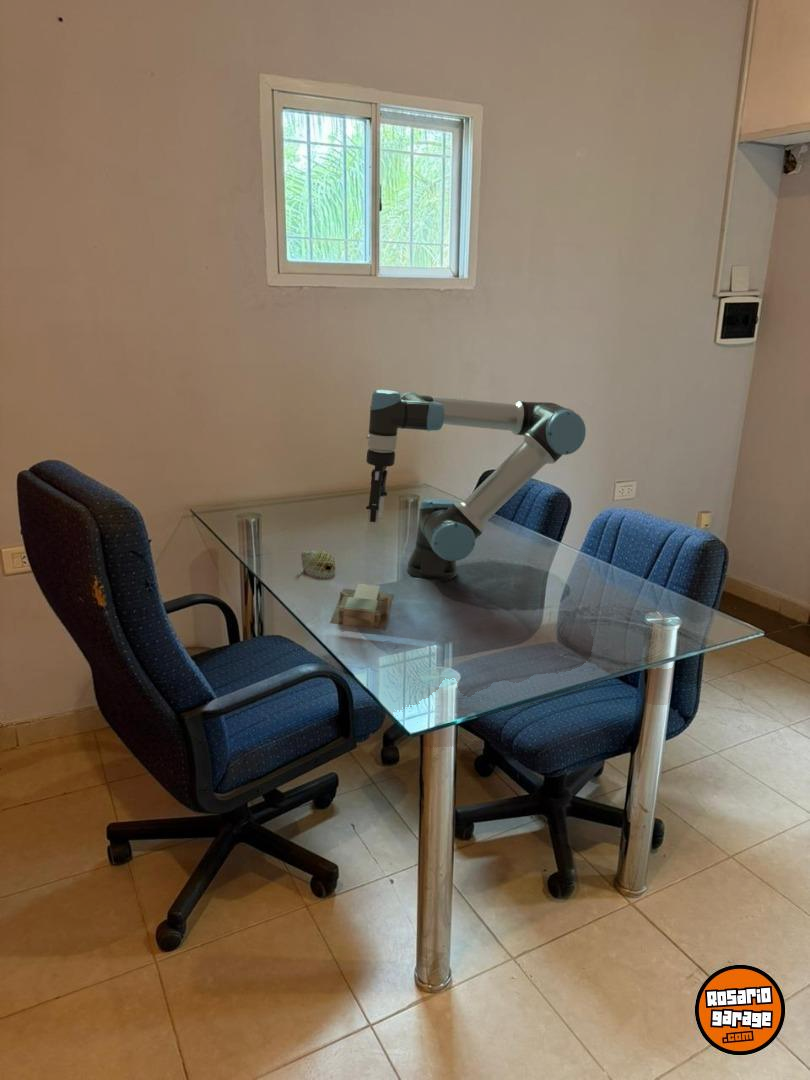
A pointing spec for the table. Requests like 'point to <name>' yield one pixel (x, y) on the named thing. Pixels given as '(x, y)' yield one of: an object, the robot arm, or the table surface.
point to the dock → (362, 610)
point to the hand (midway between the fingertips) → (374, 525)
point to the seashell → (318, 564)
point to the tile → (367, 591)
